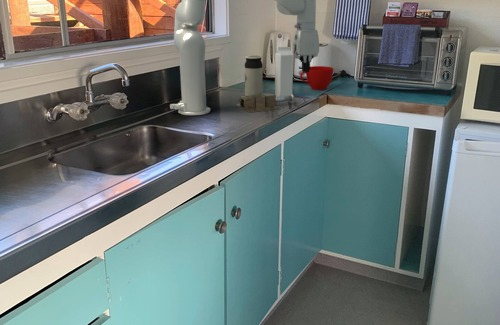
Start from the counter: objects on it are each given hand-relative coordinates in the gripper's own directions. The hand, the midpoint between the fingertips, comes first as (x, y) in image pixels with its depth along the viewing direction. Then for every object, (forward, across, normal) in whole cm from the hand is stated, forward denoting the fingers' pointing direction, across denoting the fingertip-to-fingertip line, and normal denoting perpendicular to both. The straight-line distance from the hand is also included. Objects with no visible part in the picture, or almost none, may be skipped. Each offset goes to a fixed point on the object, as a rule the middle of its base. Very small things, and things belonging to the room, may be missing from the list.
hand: (305, 71), depth 212 cm
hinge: (+13, -23, 0) cm, 26 cm away
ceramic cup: (+14, +19, +23) cm, 33 cm away
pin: (+13, -15, 0) cm, 20 cm away
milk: (+13, -3, +15) cm, 20 cm away
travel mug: (+13, -15, +21) cm, 28 cm away
